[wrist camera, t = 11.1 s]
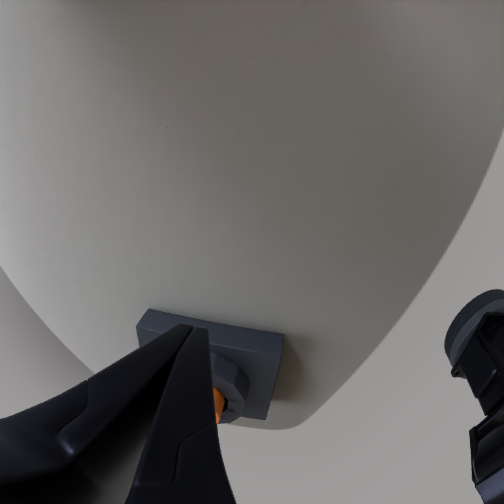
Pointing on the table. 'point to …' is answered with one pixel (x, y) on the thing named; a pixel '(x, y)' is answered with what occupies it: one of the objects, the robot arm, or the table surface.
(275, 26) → the table surface
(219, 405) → the button
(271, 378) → the switch block
